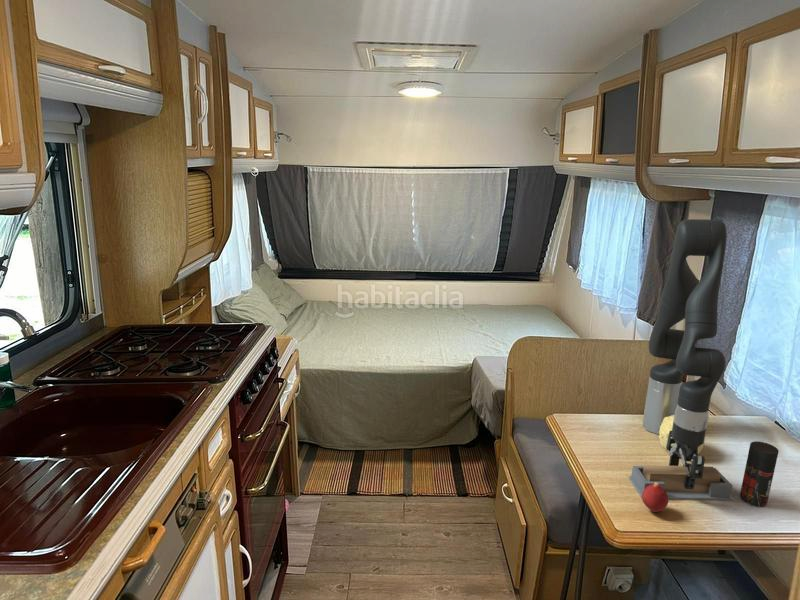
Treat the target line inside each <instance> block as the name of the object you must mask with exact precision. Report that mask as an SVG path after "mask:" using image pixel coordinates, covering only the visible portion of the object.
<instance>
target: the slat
mask: <svg viewBox="0 0 800 600" xmlns="http://www.w3.org/2000/svg"><path fill="white" fill-rule="evenodd" d="M643 466H644V468H643V476H644V477H645V479H646V480H647V481H659V482H664V483H665V487H664V490H665V491H683V492H709V487H710V483H719V482H720V477H721V475H720V474H719V473H718V472H717V471H716V470H715V469H714V468H715V467H714V466H709V465H708V466H707V465H704V469H703V477H702V479H695V485H694V488H693V489H685V487H684V482H685V476H686V470H685V467H684V466H683V465H678V466H669V465H657V464H656V465H655V464H654V465H653V464H652V465H651V464H648V465H647V464H644V465H643ZM689 469H690V472H691V467H689ZM698 471H699V470H698Z"/></svg>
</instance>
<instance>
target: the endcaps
mask: <svg viewBox="0 0 800 600" xmlns="http://www.w3.org/2000/svg"><path fill="white" fill-rule="evenodd" d="M643 468H644V465H632V468H631V475H630V476H629V475H628V476H627V477H628V478H629V479H628V480H629V481H630V483H631V484H632V486H633V487H634V489H635V491H636V492H637V493H638V495H639V496H640V498H641V499H642V493H643V491H644V489H645V488H646V487H647V486H649V485H653V484H654V482H657V483H658V484H659V485H660V486H661V487H662V488H663V489H664V487H665V483H664V482H659V481H647V480H646V479H645V477H644V476H643ZM713 468H714V469H715V470H716V471H717V472H718V473H719V474H720V475H721V477H720V482H719V483H710V487H709V492H683V491H666V493H667V495H668V500H688V501H689V500H690V501H692V500H693V501H697V500H698V501H729V502H731V501H732V502H733V501H734V498H733V497H732V495H731V494H732V489H733V484H732V483H731V482H730V481H729V480H728V479H727V478H726V477H725V475H724V474H722V472H720V471H719V470H718V468H716V467H713Z"/></svg>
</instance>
